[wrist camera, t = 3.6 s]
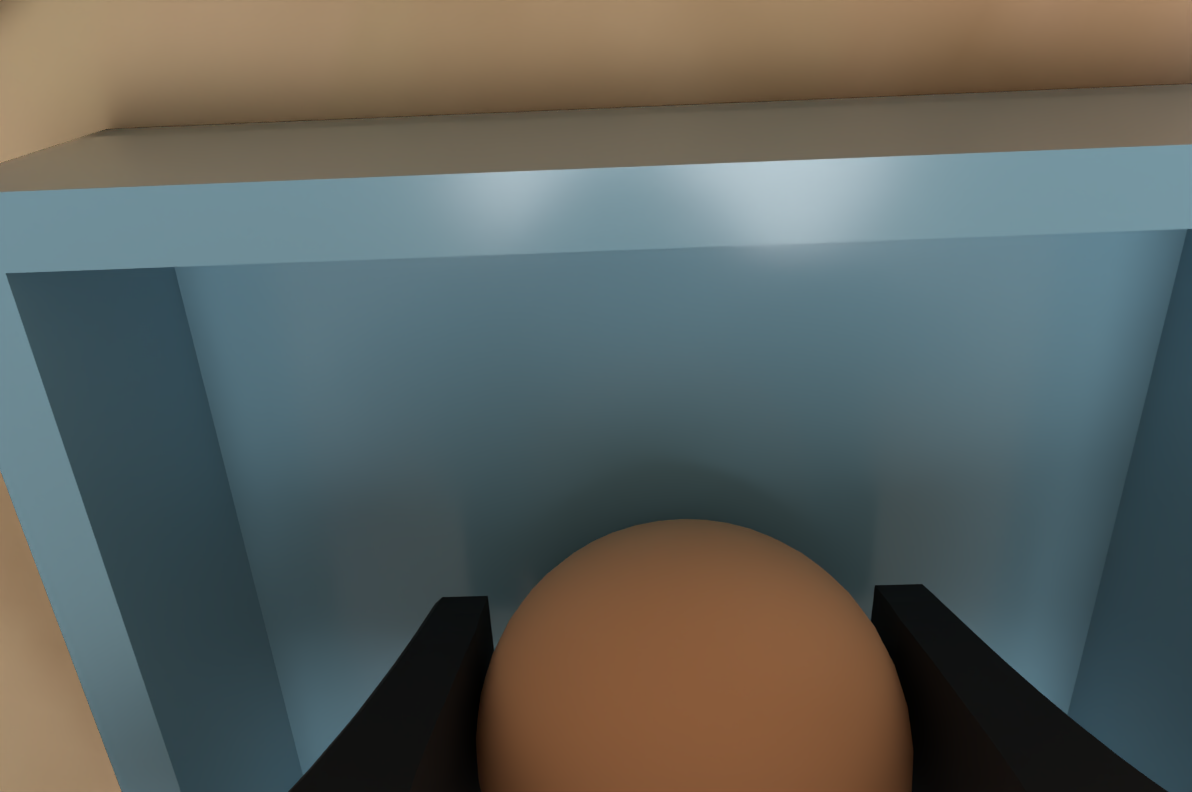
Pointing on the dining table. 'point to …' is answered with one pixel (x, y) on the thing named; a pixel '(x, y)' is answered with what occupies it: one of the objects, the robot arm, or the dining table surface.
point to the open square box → (597, 388)
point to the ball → (691, 674)
